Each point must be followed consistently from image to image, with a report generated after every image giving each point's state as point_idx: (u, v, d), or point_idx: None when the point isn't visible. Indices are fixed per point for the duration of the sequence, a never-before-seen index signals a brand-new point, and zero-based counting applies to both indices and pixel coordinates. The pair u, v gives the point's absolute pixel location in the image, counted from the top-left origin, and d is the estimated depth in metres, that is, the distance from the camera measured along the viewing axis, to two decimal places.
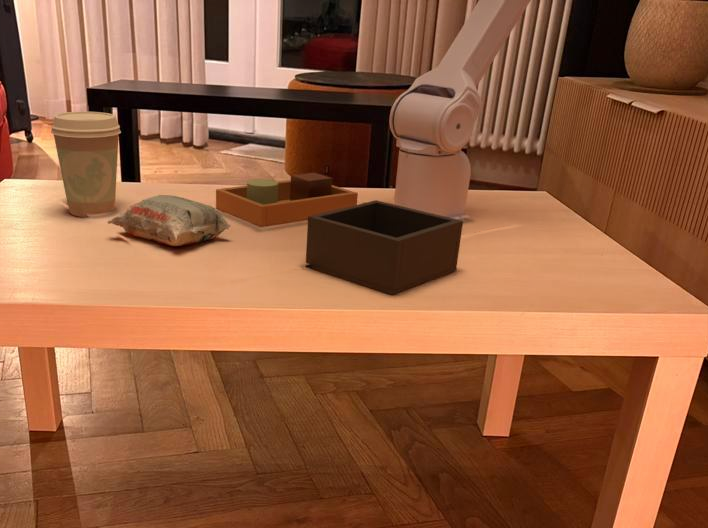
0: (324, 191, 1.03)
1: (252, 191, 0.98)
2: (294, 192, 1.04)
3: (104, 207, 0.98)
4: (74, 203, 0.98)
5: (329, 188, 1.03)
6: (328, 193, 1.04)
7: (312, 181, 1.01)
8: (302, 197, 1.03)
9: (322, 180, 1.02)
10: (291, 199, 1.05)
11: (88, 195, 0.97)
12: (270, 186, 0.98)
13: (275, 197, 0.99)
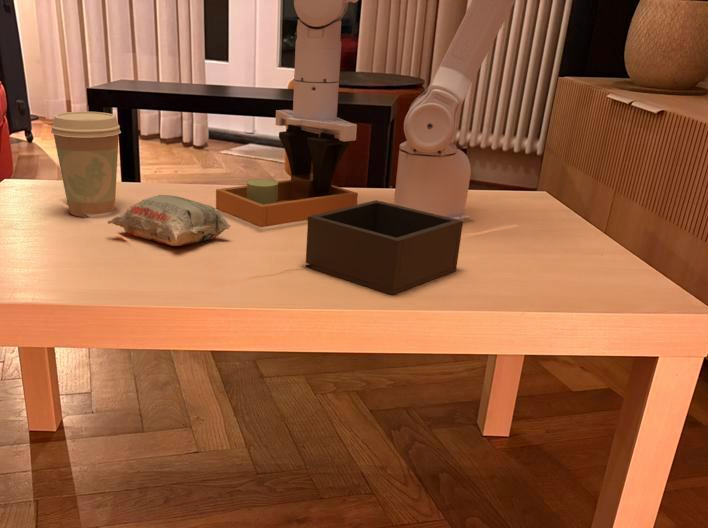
0: None
1: (252, 191, 0.98)
2: (294, 192, 1.04)
3: (104, 207, 0.98)
4: (74, 203, 0.98)
5: None
6: (328, 193, 1.04)
7: (312, 181, 1.01)
8: (302, 197, 1.03)
9: None
10: (291, 199, 1.05)
11: (88, 195, 0.97)
12: (270, 186, 0.98)
13: (275, 197, 0.99)
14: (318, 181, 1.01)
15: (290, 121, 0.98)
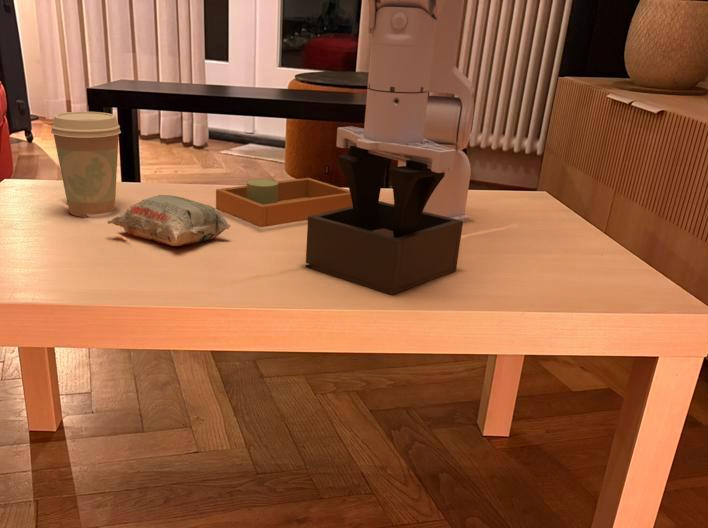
0: None
1: (252, 191, 0.98)
2: None
3: (104, 207, 0.98)
4: (74, 203, 0.98)
5: None
6: None
7: None
8: None
9: None
10: None
11: (88, 195, 0.97)
12: (270, 186, 0.98)
13: (275, 197, 0.99)
14: (401, 225, 0.75)
15: (362, 144, 0.73)
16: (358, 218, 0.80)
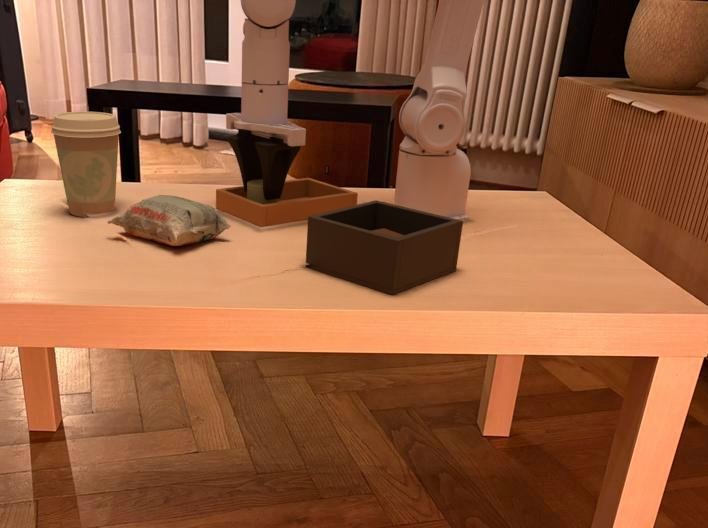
0: None
1: (252, 191, 0.98)
2: None
3: (104, 207, 0.98)
4: (74, 203, 0.98)
5: None
6: None
7: None
8: None
9: None
10: None
11: (88, 195, 0.97)
12: None
13: None
14: (268, 187, 0.96)
15: (237, 125, 0.94)
16: (246, 186, 1.00)
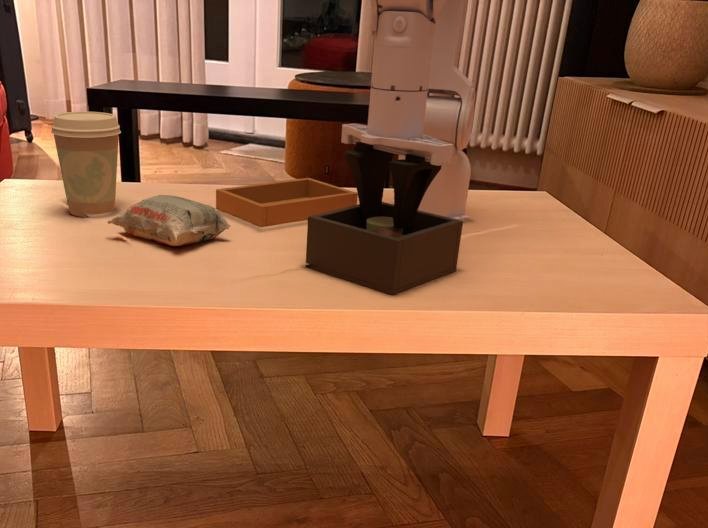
0: None
1: None
2: None
3: (104, 207, 0.98)
4: (74, 203, 0.98)
5: None
6: None
7: None
8: None
9: None
10: None
11: (88, 195, 0.97)
12: None
13: None
14: (400, 214, 0.80)
15: (366, 139, 0.78)
16: (363, 210, 0.84)
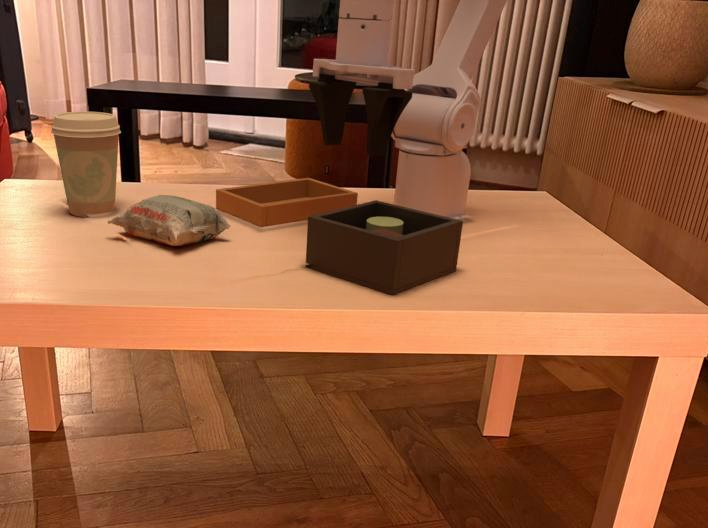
0: None
1: None
2: None
3: (104, 207, 0.98)
4: (74, 203, 0.98)
5: None
6: None
7: None
8: None
9: None
10: None
11: (88, 195, 0.97)
12: (396, 226, 0.82)
13: None
14: (373, 142, 0.84)
15: (333, 66, 0.83)
16: (326, 138, 0.90)
